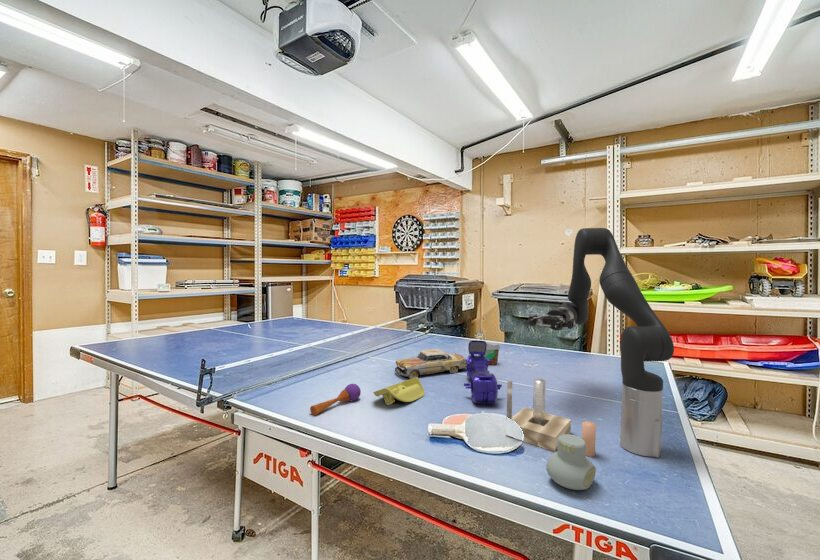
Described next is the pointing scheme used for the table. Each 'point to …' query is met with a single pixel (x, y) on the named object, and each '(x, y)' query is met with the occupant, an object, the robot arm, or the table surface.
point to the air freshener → (571, 464)
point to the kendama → (338, 398)
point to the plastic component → (402, 391)
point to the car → (430, 363)
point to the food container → (492, 354)
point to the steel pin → (539, 402)
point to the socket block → (534, 432)
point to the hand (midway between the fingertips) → (544, 324)
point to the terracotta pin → (589, 437)
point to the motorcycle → (480, 375)
